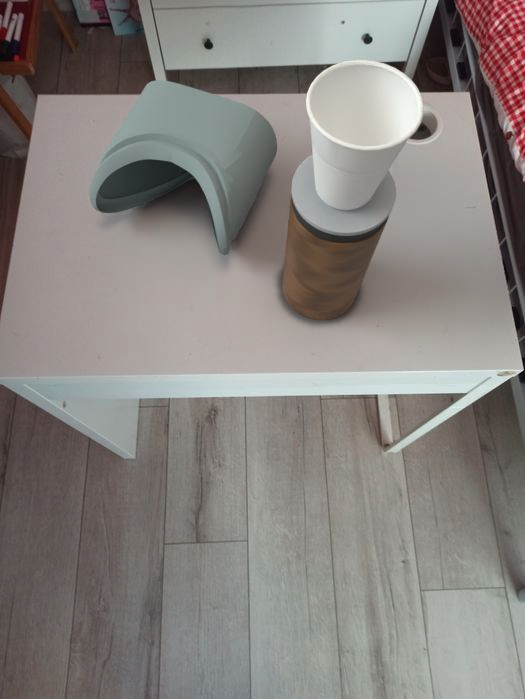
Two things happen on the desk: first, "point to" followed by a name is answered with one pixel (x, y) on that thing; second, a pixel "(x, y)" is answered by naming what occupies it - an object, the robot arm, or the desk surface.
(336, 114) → the cup
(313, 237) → the plinth
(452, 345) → the desk surface
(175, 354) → the desk surface
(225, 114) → the sage-green arched shell
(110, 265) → the desk surface
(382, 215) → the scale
